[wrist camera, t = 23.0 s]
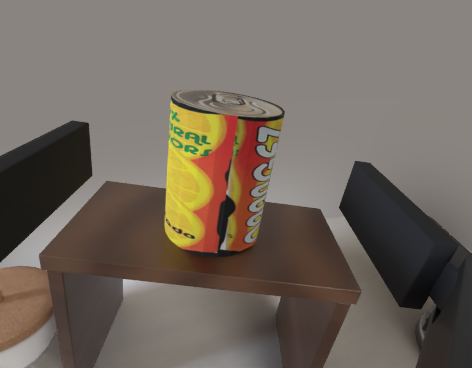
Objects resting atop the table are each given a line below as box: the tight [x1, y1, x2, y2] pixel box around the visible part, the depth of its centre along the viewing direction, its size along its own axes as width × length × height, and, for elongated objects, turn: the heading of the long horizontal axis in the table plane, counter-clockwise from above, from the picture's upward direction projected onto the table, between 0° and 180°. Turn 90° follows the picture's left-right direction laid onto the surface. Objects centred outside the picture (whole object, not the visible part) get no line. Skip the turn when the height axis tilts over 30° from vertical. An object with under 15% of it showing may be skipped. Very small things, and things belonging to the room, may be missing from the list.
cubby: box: [39, 181, 361, 368], centre depth 33 cm, size 25×13×18 cm, turn 90°
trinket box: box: [0, 266, 57, 368], centre depth 31 cm, size 11×11×9 cm
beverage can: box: [164, 90, 285, 257], centre depth 26 cm, size 9×9×12 cm
